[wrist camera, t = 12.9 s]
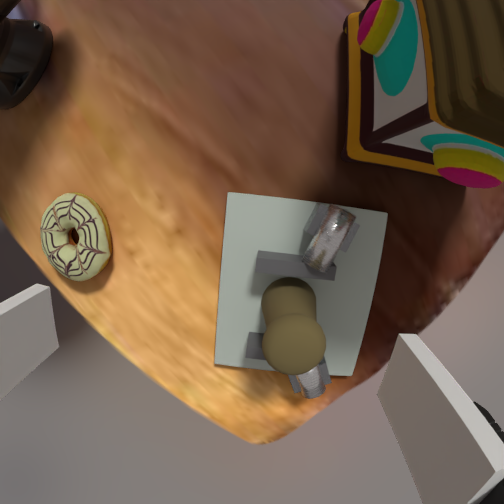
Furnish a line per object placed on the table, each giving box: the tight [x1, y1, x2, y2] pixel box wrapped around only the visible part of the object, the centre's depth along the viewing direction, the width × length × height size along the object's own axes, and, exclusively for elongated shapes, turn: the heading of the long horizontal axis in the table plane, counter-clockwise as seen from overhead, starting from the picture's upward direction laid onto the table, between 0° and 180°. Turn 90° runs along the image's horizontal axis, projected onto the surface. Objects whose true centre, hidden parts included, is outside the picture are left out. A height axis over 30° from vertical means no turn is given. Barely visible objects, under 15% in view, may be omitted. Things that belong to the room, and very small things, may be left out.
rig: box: [214, 192, 388, 376], centre depth 31 cm, size 17×20×5 cm
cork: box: [261, 277, 326, 375], centre depth 27 cm, size 6×6×11 cm
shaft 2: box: [288, 356, 332, 399], centre depth 32 cm, size 5×4×4 cm
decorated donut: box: [41, 193, 112, 281], centre depth 32 cm, size 10×11×4 cm
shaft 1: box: [302, 203, 360, 273], centre depth 29 cm, size 6×4×4 cm
